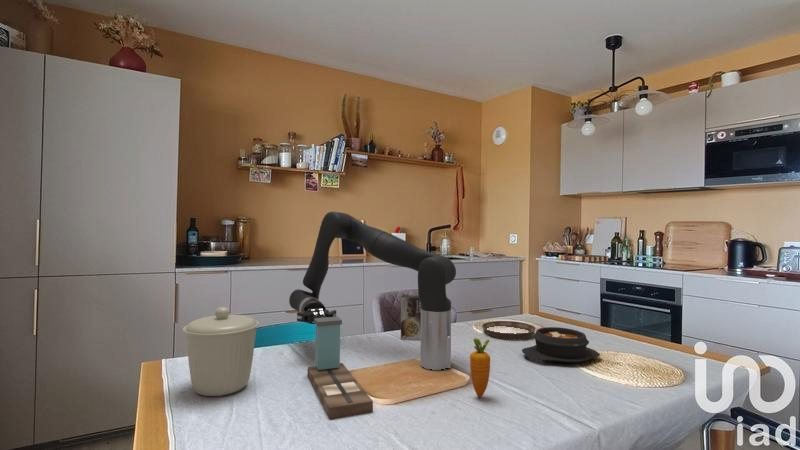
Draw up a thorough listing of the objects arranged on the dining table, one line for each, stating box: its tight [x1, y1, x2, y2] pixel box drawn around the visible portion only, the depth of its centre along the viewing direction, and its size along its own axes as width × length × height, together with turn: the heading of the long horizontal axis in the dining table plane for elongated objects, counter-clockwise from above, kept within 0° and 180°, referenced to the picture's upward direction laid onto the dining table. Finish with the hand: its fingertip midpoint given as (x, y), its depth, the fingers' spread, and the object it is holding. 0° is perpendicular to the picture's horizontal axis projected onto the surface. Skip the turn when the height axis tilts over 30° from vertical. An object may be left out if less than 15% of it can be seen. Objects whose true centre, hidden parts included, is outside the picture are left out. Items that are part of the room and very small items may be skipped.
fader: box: [314, 316, 343, 370], centre depth 114 cm, size 5×7×13 cm
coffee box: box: [400, 293, 421, 341], centre depth 156 cm, size 9×6×16 cm
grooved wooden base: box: [306, 362, 374, 420], centre depth 104 cm, size 28×10×3 cm, turn 22°
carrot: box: [469, 337, 491, 399], centre depth 101 cm, size 5×5×15 cm
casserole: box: [521, 326, 601, 364], centre depth 133 cm, size 25×19×8 cm
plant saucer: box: [481, 320, 537, 341], centre depth 163 cm, size 21×21×3 cm
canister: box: [182, 306, 260, 397], centre depth 106 cm, size 18×18×21 cm
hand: (322, 322), depth 120 cm, fingers closed
